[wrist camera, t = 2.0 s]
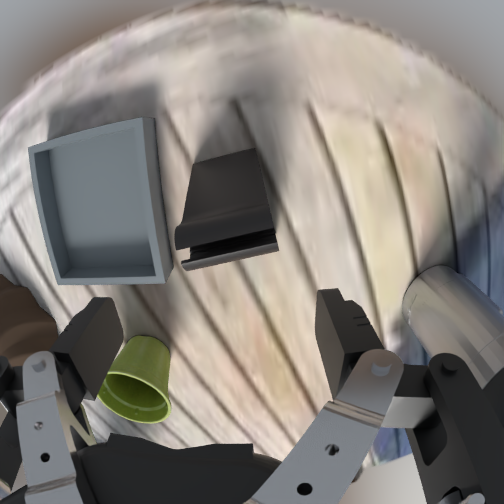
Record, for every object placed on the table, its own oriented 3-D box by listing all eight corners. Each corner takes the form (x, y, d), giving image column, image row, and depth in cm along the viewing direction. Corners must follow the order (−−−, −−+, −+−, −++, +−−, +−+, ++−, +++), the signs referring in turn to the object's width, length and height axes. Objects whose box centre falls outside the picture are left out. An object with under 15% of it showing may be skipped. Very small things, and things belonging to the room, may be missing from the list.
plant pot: (198, 355, 36) (187, 407, 28) (158, 385, 39) (145, 431, 31) (139, 310, 34) (113, 358, 26) (106, 347, 36) (82, 391, 28)
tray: (154, 118, 25) (142, 117, 22) (173, 267, 31) (165, 283, 28) (46, 144, 25) (28, 147, 22) (72, 271, 32) (57, 284, 28)
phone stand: (193, 163, 27) (155, 185, 16) (255, 147, 27) (258, 158, 15) (218, 249, 30) (200, 317, 19) (275, 236, 30) (289, 300, 19)
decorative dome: (89, 371, 39) (65, 418, 29) (21, 371, 41) (-2, 405, 31) (27, 263, 31) (-18, 300, 22) (-30, 286, 33) (-63, 314, 24)
